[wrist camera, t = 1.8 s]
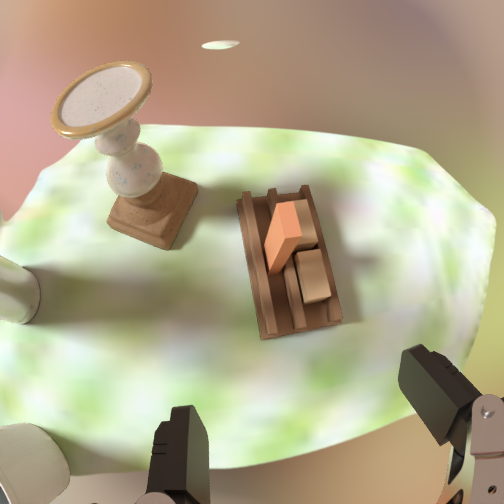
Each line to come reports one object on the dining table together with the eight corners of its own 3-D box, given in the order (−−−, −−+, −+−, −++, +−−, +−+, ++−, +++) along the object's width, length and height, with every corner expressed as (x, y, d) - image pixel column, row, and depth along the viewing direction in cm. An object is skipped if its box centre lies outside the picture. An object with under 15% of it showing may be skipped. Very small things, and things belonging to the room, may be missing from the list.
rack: (337, 323, 39) (349, 320, 35) (261, 339, 38) (264, 339, 33) (306, 196, 45) (313, 181, 41) (236, 204, 44) (237, 189, 39)
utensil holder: (48, 412, 31) (-26, 429, 15) (90, 492, 27) (36, 539, 11) (-1, 423, 28) (-66, 434, 12) (35, 494, 25) (-18, 525, 8)
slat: (278, 273, 39) (302, 235, 26) (267, 275, 39) (284, 238, 26) (273, 249, 40) (293, 201, 27) (262, 250, 40) (276, 203, 27)
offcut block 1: (309, 252, 40) (318, 241, 36) (288, 255, 40) (295, 244, 36) (299, 213, 42) (306, 199, 38) (279, 216, 42) (285, 201, 38)
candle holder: (141, 170, 45) (93, 56, 22) (199, 189, 44) (178, 62, 21) (109, 227, 41) (26, 130, 19) (168, 252, 41) (107, 148, 18)
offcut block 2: (320, 301, 38) (331, 295, 34) (299, 305, 38) (308, 300, 34) (311, 259, 40) (320, 248, 36) (290, 262, 40) (297, 252, 36)
